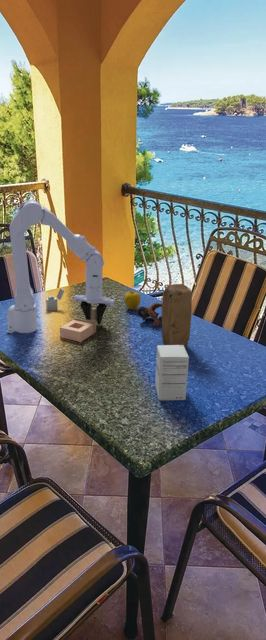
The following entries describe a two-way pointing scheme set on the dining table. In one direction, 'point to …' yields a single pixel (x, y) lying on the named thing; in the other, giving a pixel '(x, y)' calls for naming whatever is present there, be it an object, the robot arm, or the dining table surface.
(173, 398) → the supplement box
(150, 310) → the dark brown irregular piece
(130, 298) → the apple
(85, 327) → the sliding block
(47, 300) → the lighter
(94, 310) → the dowel
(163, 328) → the block
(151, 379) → the dining table surface
